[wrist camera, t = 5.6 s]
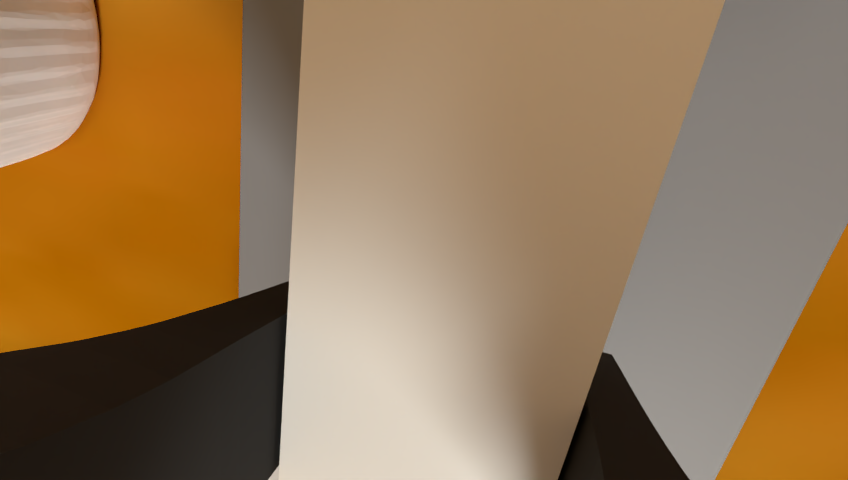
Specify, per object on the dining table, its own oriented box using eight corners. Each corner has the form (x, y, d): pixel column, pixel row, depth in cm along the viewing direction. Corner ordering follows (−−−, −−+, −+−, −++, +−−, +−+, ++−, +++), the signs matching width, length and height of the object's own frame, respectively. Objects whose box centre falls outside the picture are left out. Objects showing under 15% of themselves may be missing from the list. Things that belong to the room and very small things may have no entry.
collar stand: (611, 620, 16) (617, 763, 13) (261, 485, 18) (194, 577, 15) (1197, -597, 6) (1782, -1202, 3) (303, -548, 9) (145, -871, 6)
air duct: (471, 644, 15) (432, 846, 11) (337, 589, 16) (260, 760, 12) (796, -394, 6) (1079, -977, 3) (466, -396, 7) (337, -844, 3)
